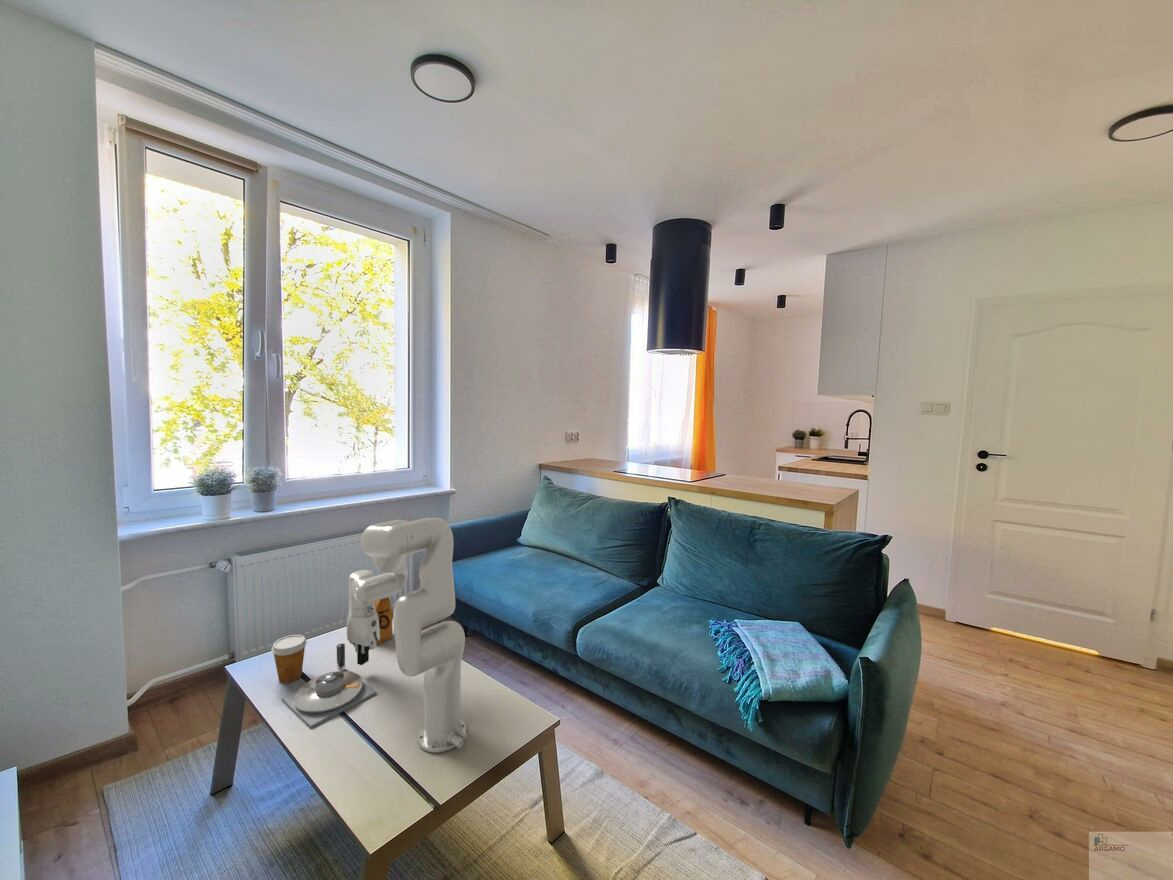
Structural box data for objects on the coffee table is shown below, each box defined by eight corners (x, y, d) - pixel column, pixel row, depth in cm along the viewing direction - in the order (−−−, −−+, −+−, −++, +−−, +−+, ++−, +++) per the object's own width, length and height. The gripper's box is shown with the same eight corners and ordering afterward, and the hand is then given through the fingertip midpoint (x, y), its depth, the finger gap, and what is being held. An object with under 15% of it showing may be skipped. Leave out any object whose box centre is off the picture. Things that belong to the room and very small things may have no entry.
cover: (345, 680, 144) (344, 666, 144) (343, 694, 137) (342, 680, 137) (317, 685, 141) (317, 671, 140) (314, 700, 134) (313, 686, 134)
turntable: (355, 708, 133) (354, 683, 133) (284, 717, 129) (284, 691, 128) (371, 662, 156) (370, 640, 155) (311, 669, 151) (311, 646, 151)
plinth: (376, 693, 142) (376, 691, 142) (310, 728, 127) (310, 725, 126) (345, 670, 153) (345, 668, 153) (281, 700, 138) (281, 697, 138)
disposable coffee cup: (314, 669, 153) (313, 635, 152) (293, 687, 144) (292, 650, 143) (287, 667, 154) (286, 632, 153) (265, 684, 145) (263, 648, 144)
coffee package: (373, 648, 167) (372, 590, 165) (353, 638, 173) (352, 581, 171) (397, 636, 175) (396, 581, 173) (377, 627, 182) (377, 573, 180)
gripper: (388, 608, 151) (389, 661, 152) (354, 600, 156) (355, 651, 158) (370, 618, 144) (371, 674, 145) (335, 609, 149) (336, 663, 151)
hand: (363, 662), depth 151 cm, fingers closed
